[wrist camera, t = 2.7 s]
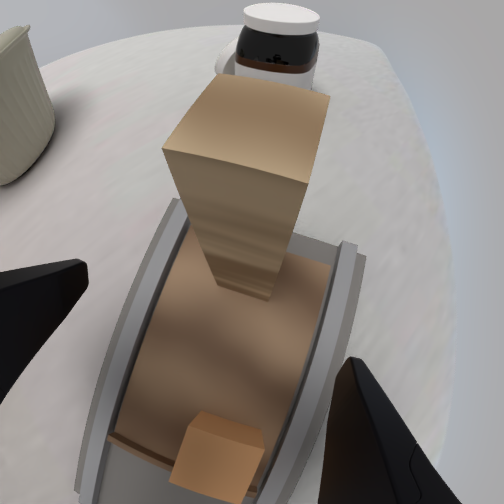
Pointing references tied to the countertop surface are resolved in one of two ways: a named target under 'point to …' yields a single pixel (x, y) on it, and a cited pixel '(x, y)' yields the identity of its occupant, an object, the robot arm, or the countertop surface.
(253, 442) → the cube
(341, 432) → the robot arm
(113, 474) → the track
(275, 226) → the tan l-shaped piece
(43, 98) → the canister
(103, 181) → the countertop surface
